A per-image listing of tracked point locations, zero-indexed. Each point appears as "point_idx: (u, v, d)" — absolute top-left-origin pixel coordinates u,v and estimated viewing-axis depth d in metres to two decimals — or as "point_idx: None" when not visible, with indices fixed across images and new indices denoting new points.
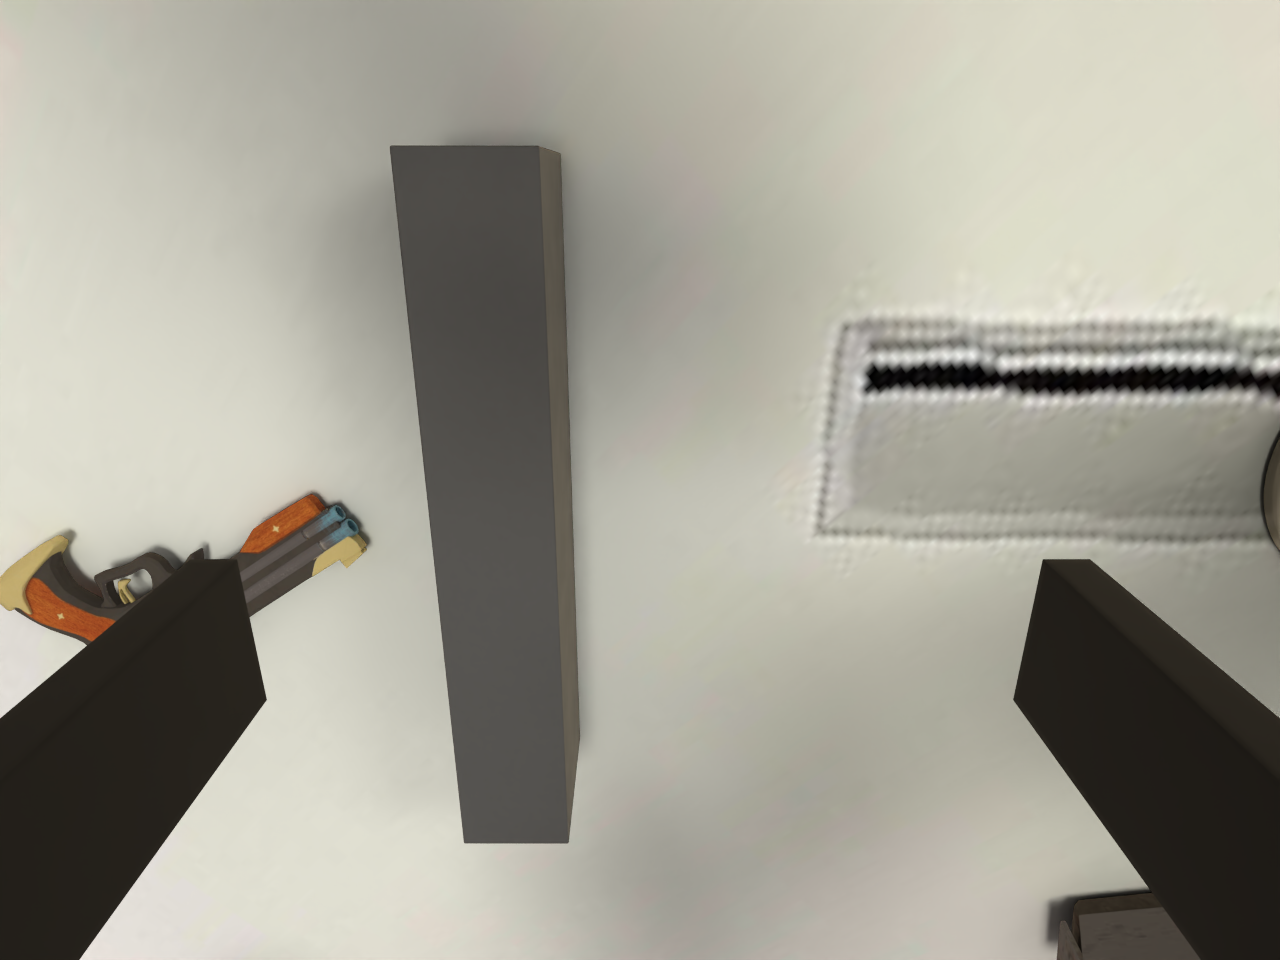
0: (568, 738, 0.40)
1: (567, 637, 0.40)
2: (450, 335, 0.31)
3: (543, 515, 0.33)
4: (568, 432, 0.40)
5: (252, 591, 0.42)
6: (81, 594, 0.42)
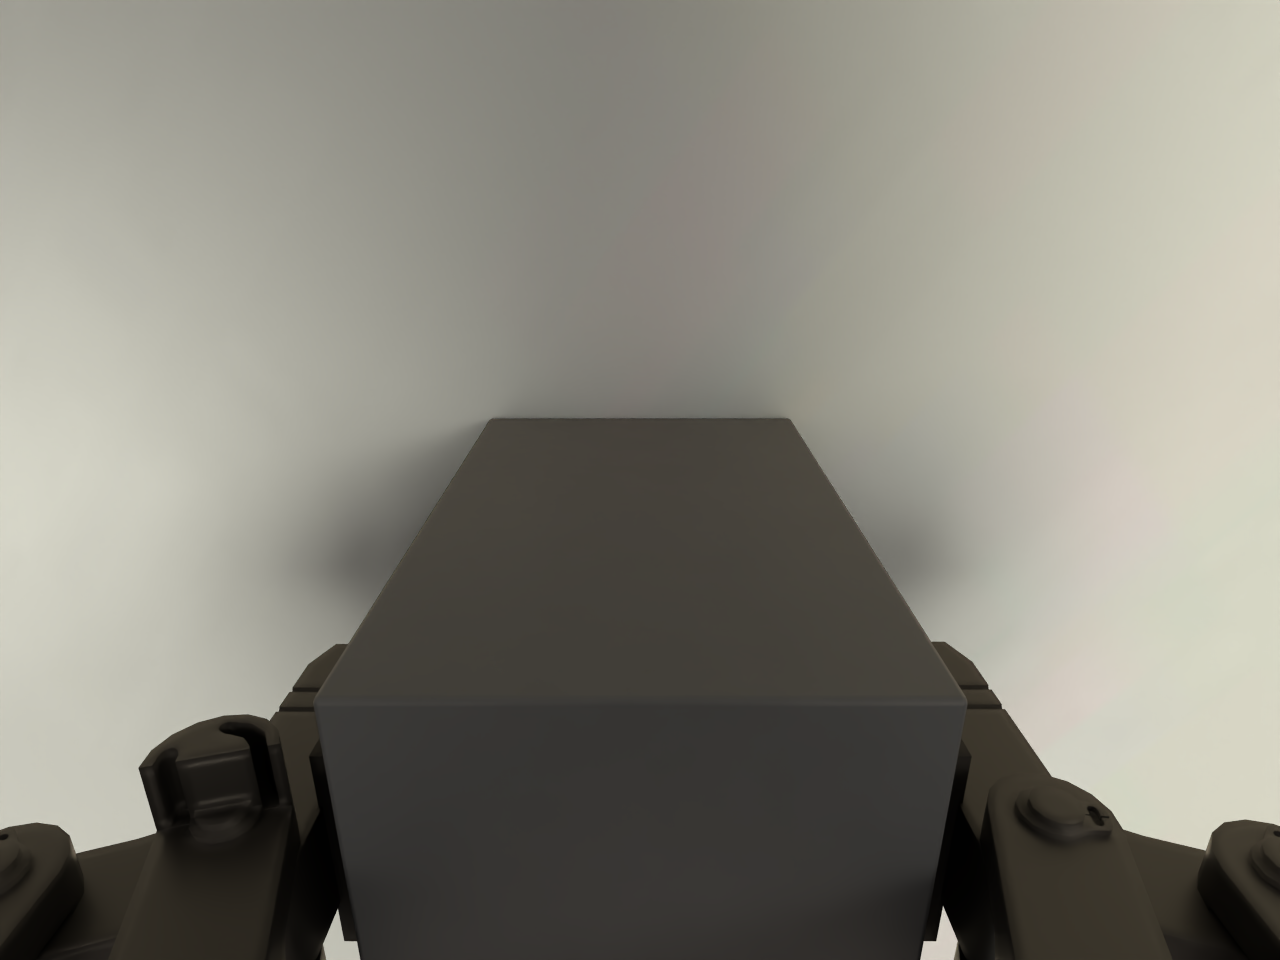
0: None
1: None
2: None
3: None
4: None
5: None
6: None
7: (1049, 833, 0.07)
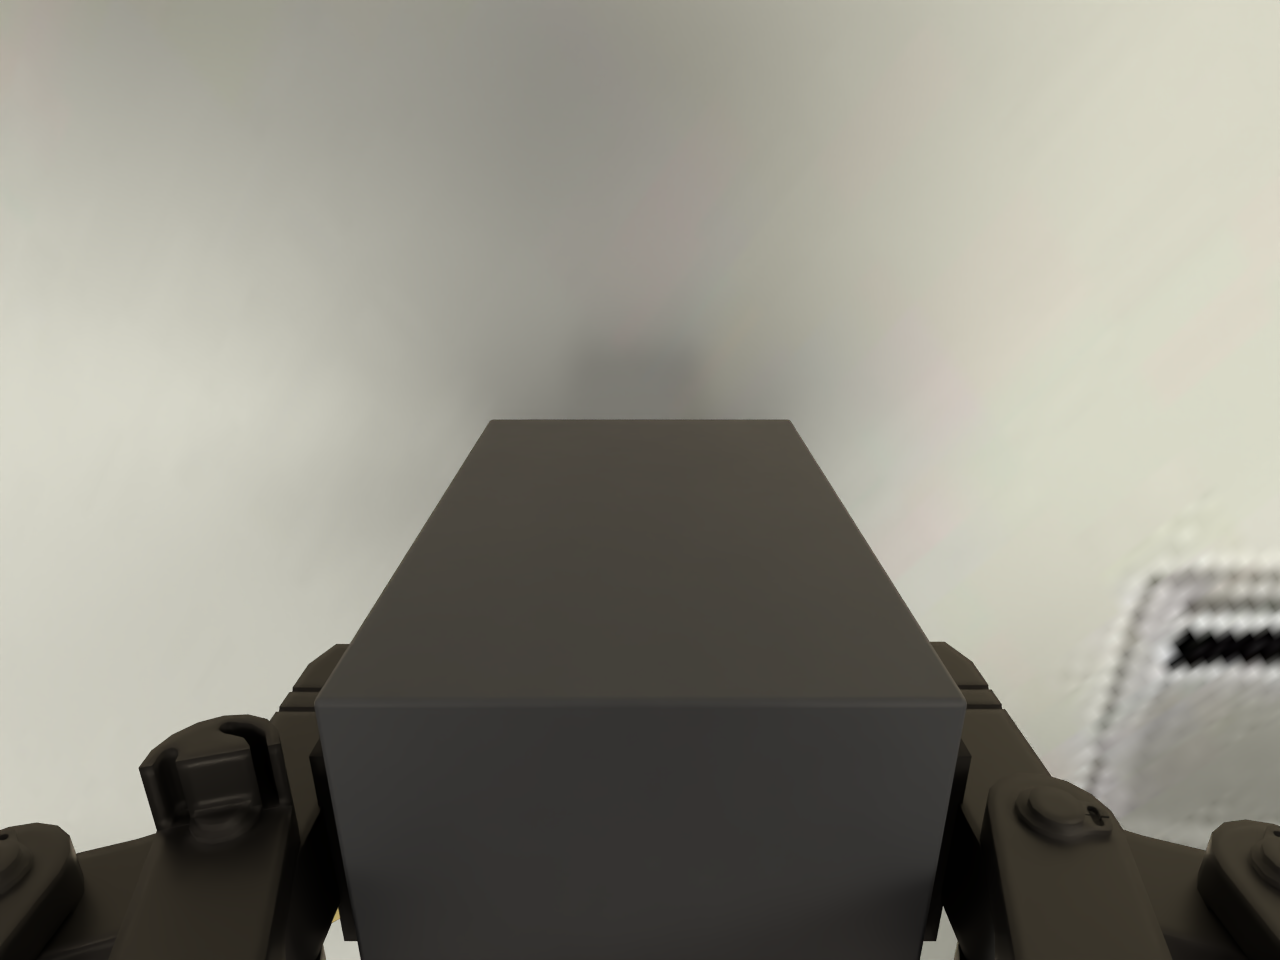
0: None
1: None
2: None
3: None
4: None
5: None
6: None
7: (1049, 833, 0.07)
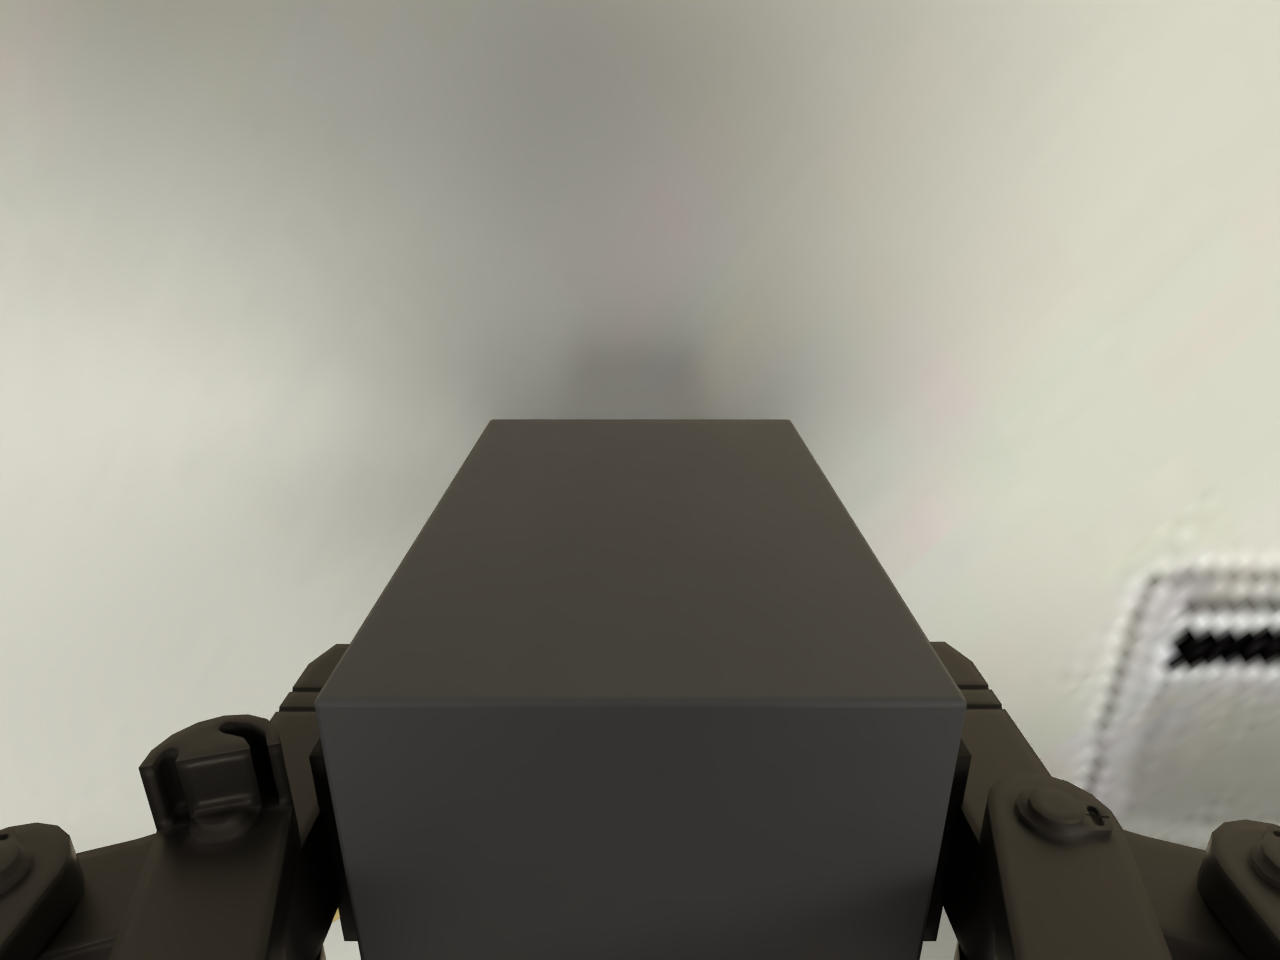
0: None
1: None
2: None
3: None
4: None
5: None
6: None
7: (1049, 833, 0.07)
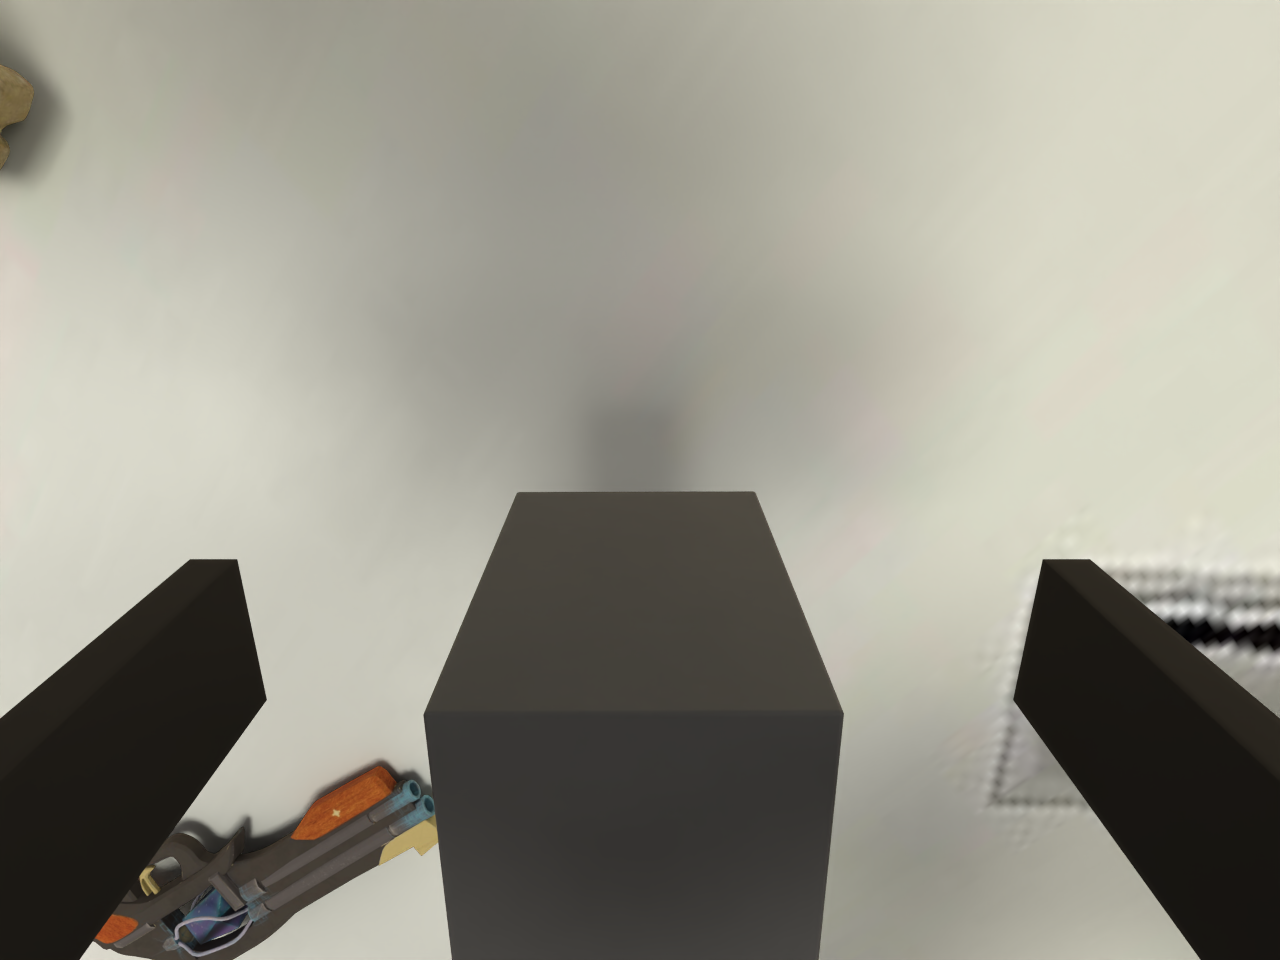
0: None
1: None
2: None
3: None
4: None
5: (304, 883, 0.34)
6: None
7: None
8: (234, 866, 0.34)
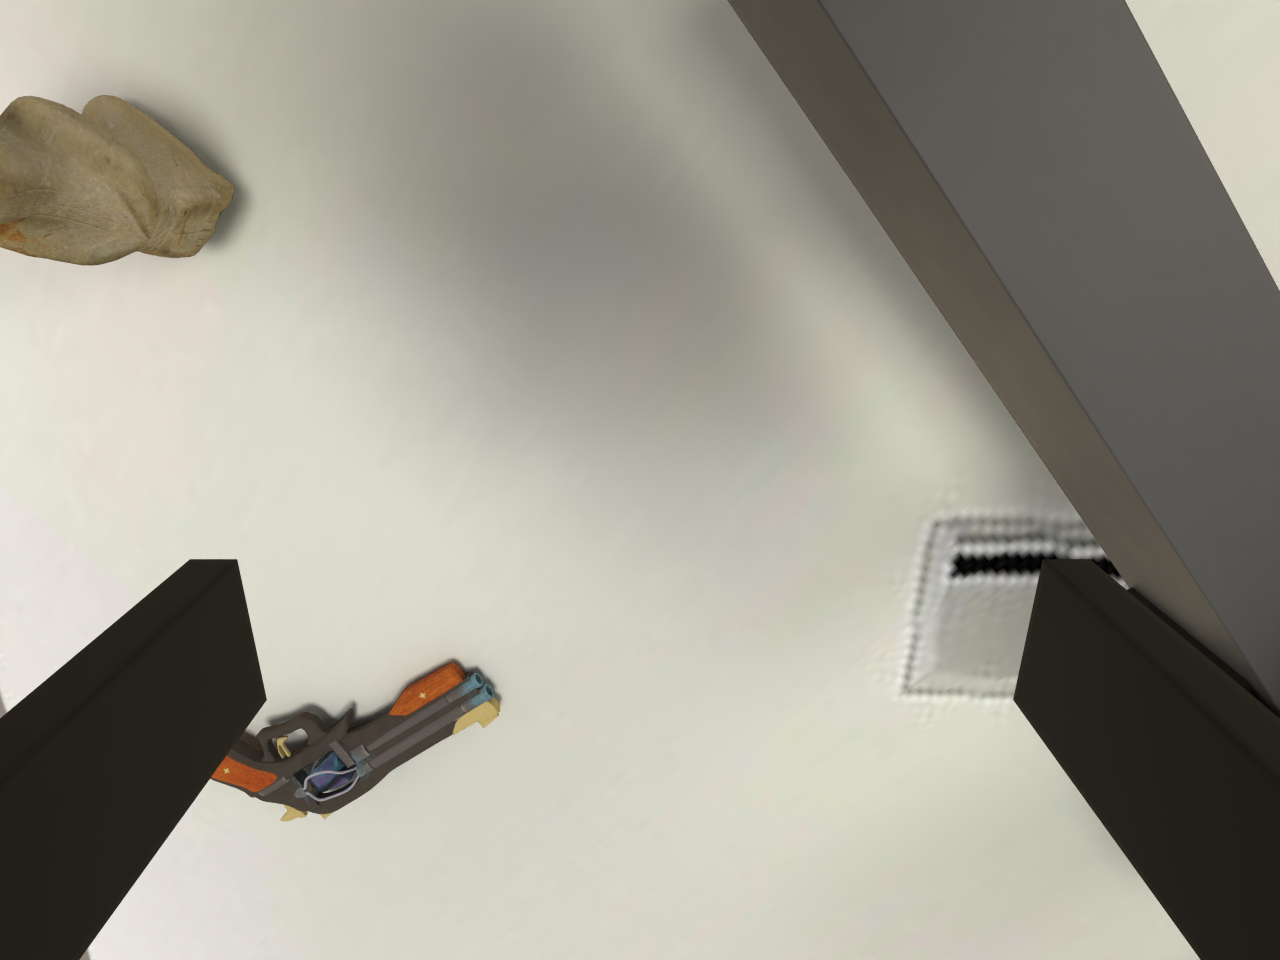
0: None
1: None
2: (939, 49, 0.18)
3: (1219, 222, 0.19)
4: None
5: (398, 748, 0.47)
6: (243, 749, 0.47)
7: None
8: (347, 735, 0.47)
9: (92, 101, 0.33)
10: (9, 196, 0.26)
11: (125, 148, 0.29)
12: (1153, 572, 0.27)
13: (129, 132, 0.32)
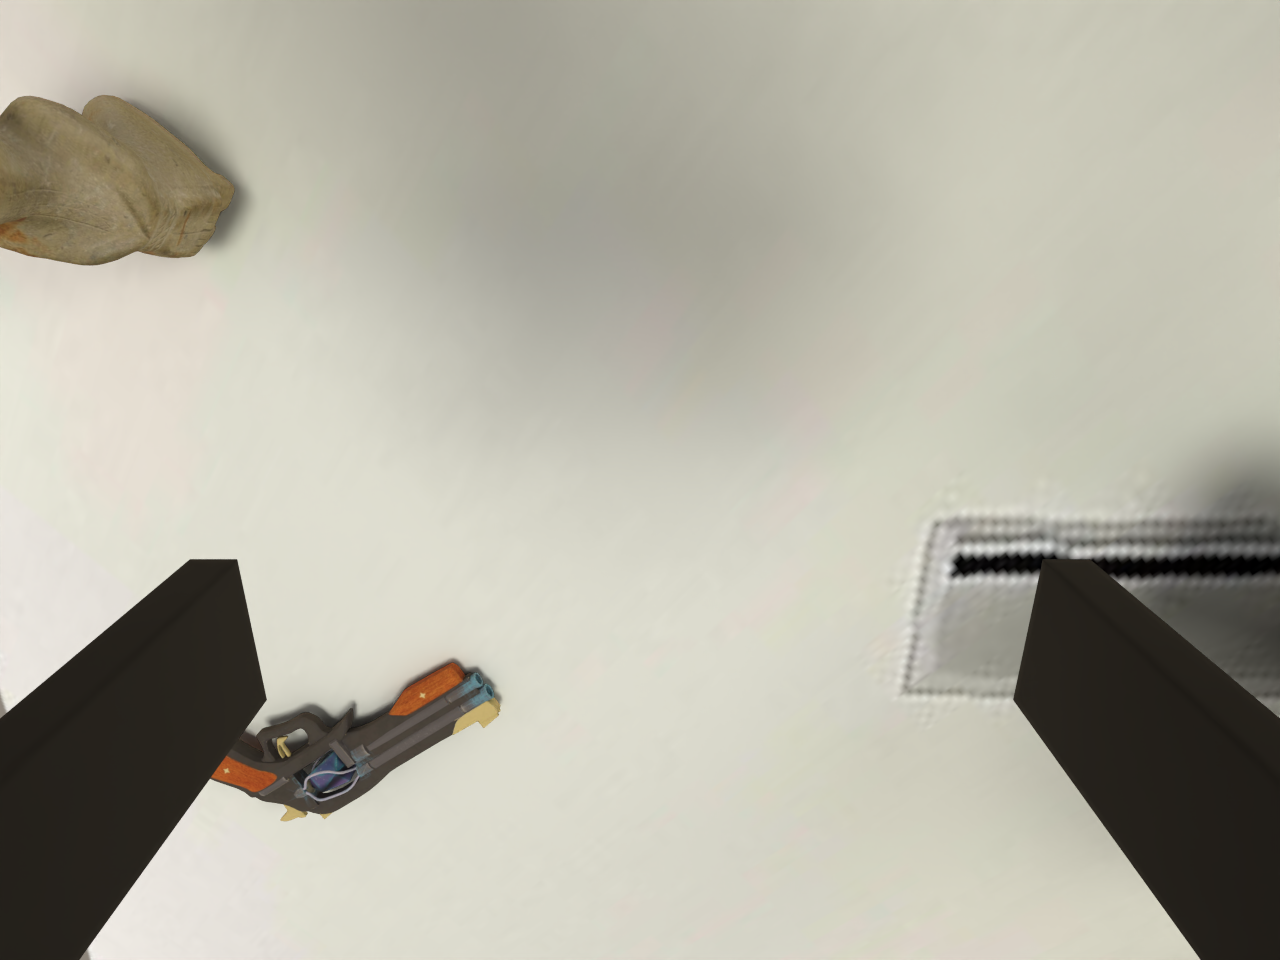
0: None
1: None
2: None
3: None
4: None
5: (398, 748, 0.47)
6: (243, 749, 0.47)
7: None
8: (347, 735, 0.47)
9: (92, 101, 0.33)
10: (9, 196, 0.26)
11: (125, 148, 0.29)
12: None
13: (129, 132, 0.32)
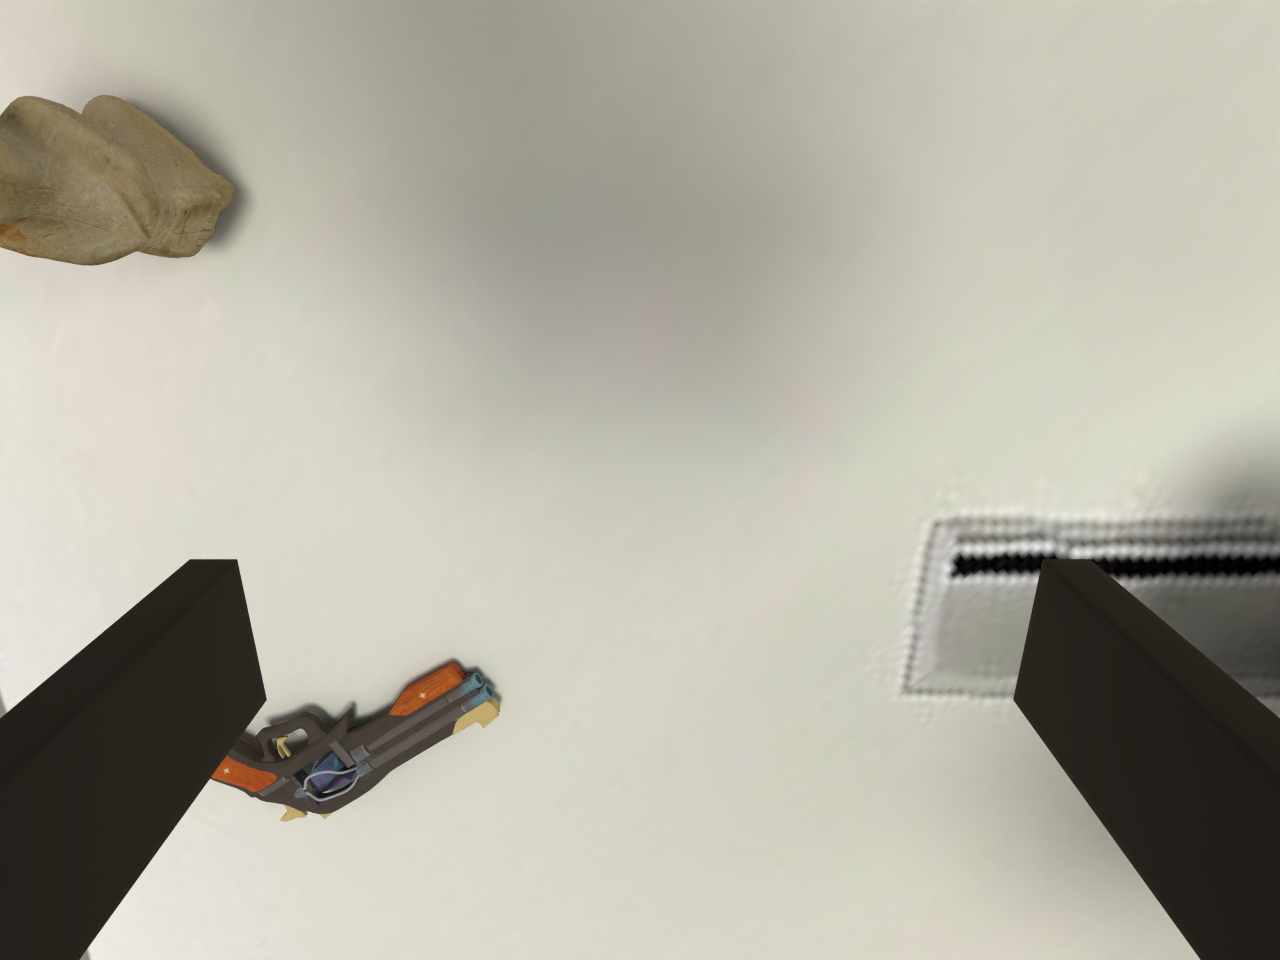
0: None
1: None
2: None
3: None
4: None
5: (398, 748, 0.47)
6: (243, 749, 0.47)
7: None
8: (347, 735, 0.47)
9: (92, 101, 0.33)
10: (9, 196, 0.26)
11: (125, 148, 0.29)
12: None
13: (129, 132, 0.32)
